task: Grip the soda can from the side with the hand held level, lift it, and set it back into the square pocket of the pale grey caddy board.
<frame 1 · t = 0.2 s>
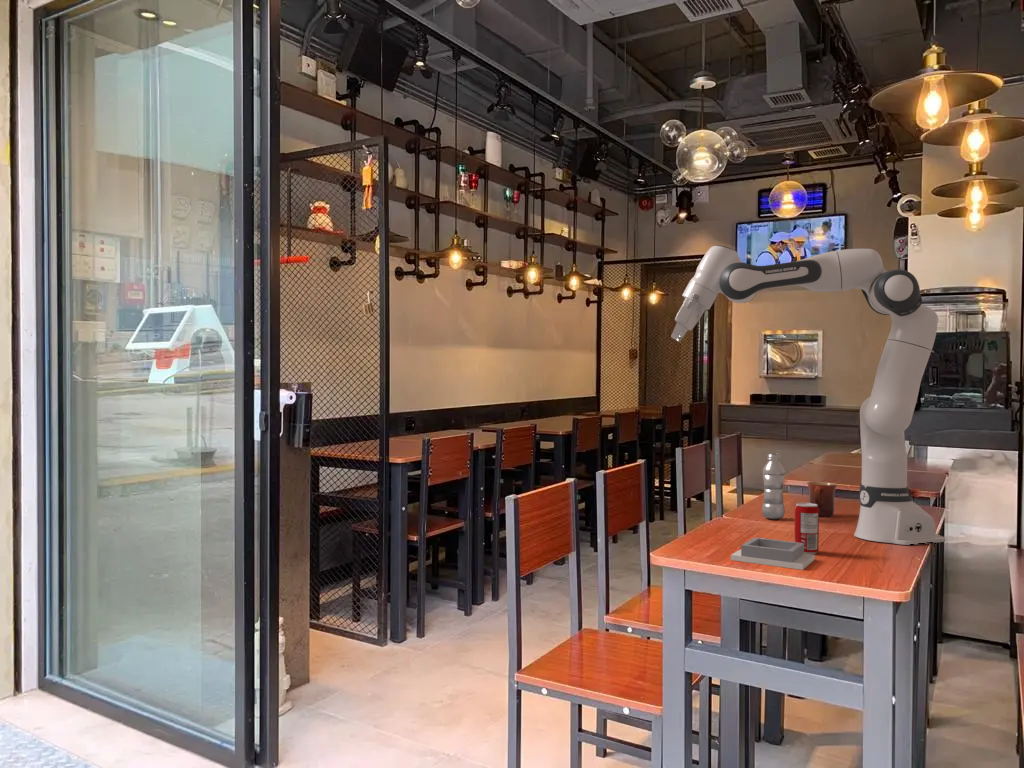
hand: (675, 339, 224), 54 cm above the table, tool tilted 30°, fingers open, 8 cm apart
plastic bottle: (773, 519, 236), on the table
mug: (820, 517, 242), on the table
soda can: (806, 552, 188), on the table
caddy: (772, 560, 179), on the table
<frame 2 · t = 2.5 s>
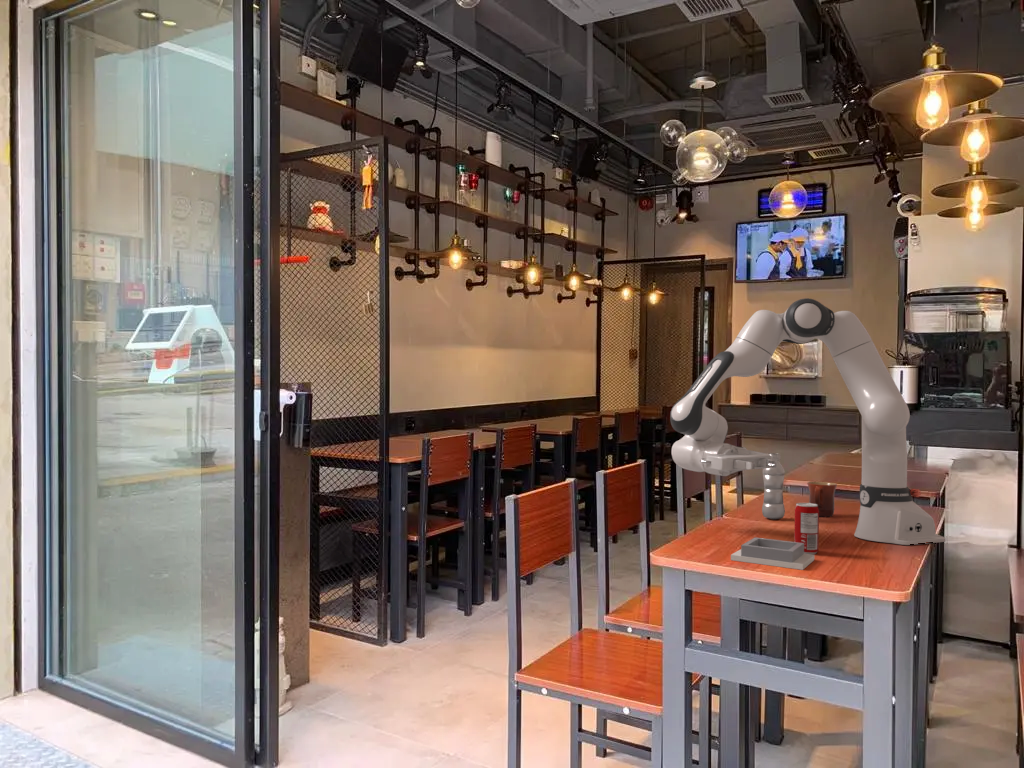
hand: (764, 465, 198), 20 cm above the table, tool horizontal, fingers open, 8 cm apart
nothing on the table moved.
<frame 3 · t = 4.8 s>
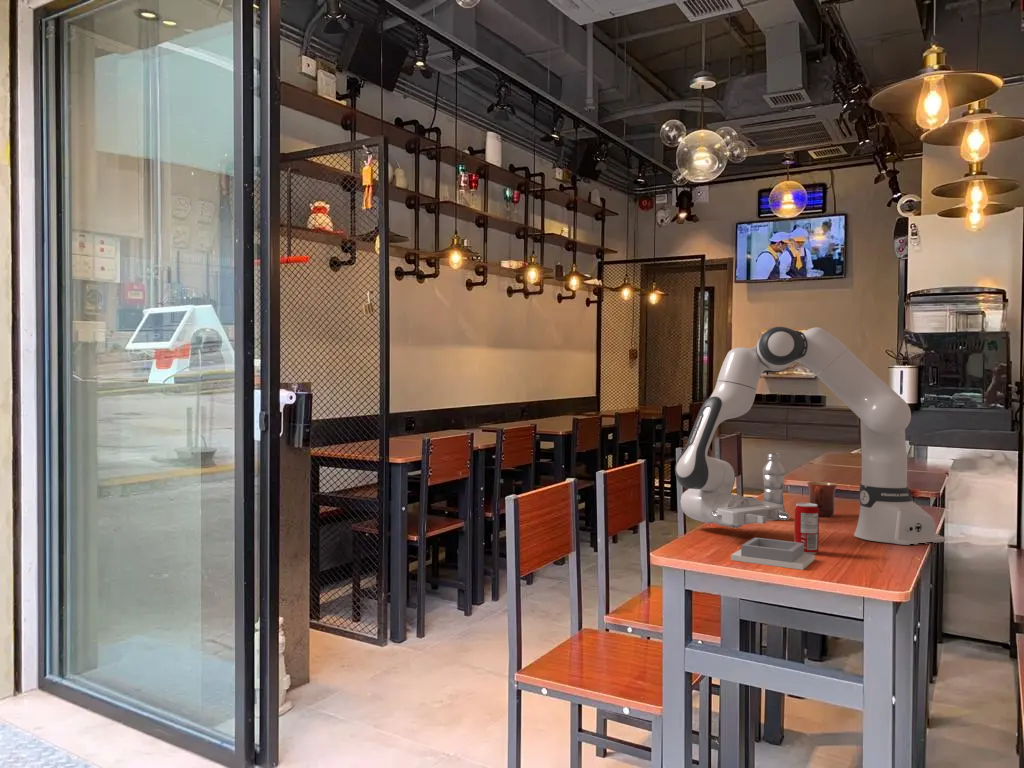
hand: (776, 518, 195), 7 cm above the table, tool horizontal, fingers open, 8 cm apart
nothing on the table moved.
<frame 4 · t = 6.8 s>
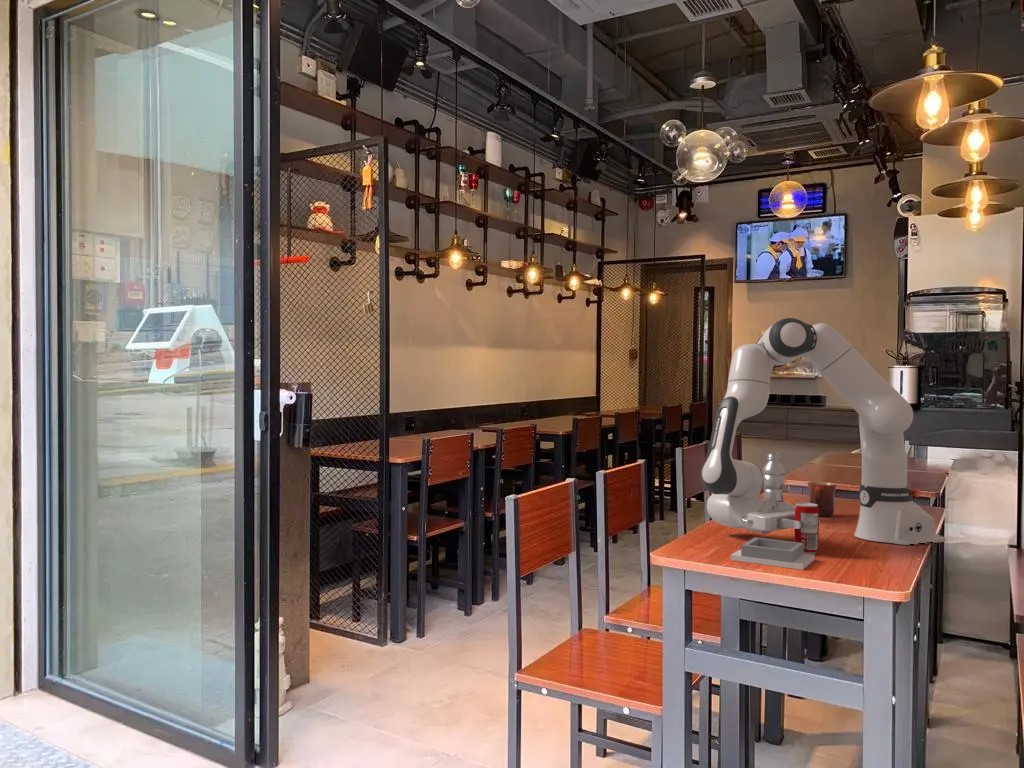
hand: (809, 523, 187), 7 cm above the table, tool horizontal, fingers closed on soda can, 5 cm apart
soda can: (806, 552, 188), on the table, touching gripper
everything else where it was.
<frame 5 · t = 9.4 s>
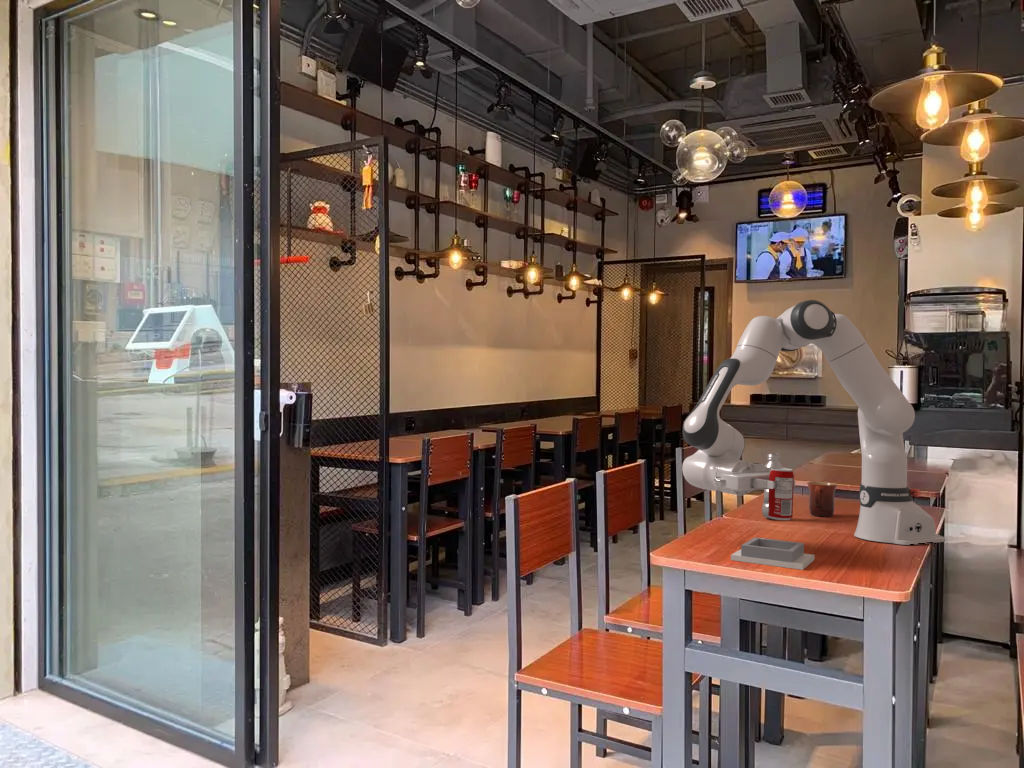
hand: (784, 484, 181), 17 cm above the table, tool horizontal, fingers closed on soda can, 5 cm apart
soda can: (780, 519, 182), point 9 cm above the table, touching gripper
everything else where it was.
when the fingers open (10 cm above the table, at t = 11.6 s): soda can stays where it is, resting on caddy.
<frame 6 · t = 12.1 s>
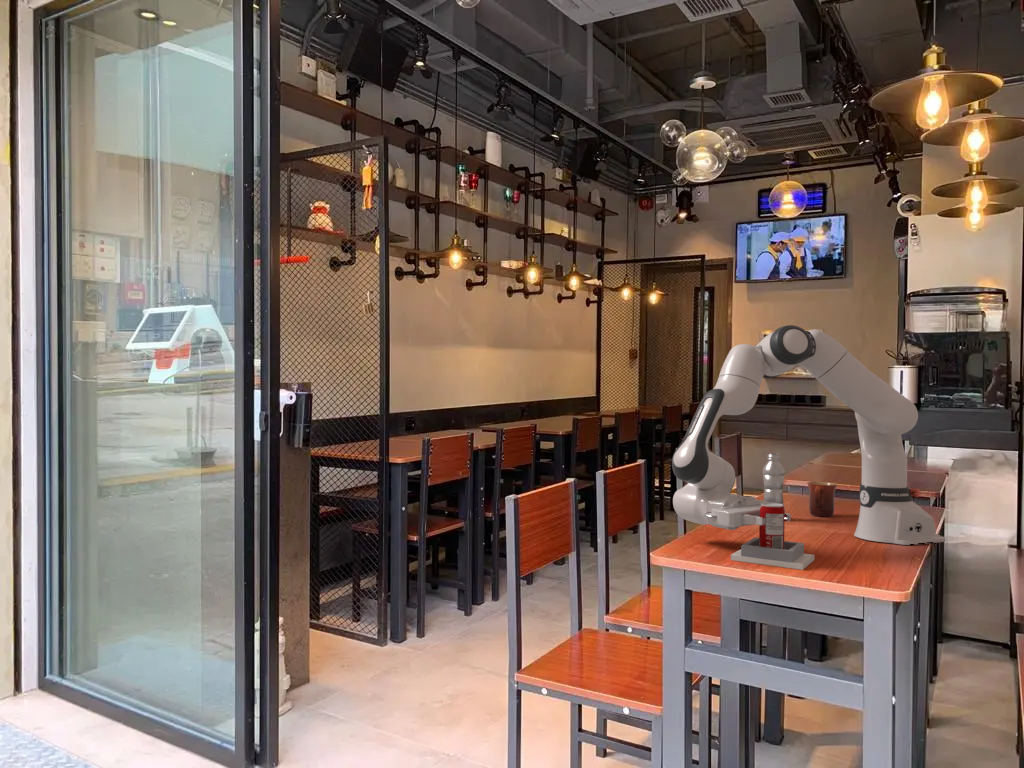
hand: (776, 519, 178), 10 cm above the table, tool horizontal, fingers open, 8 cm apart
soda can: (771, 555, 179), point 1 cm above the table, touching caddy
everything else where it was.
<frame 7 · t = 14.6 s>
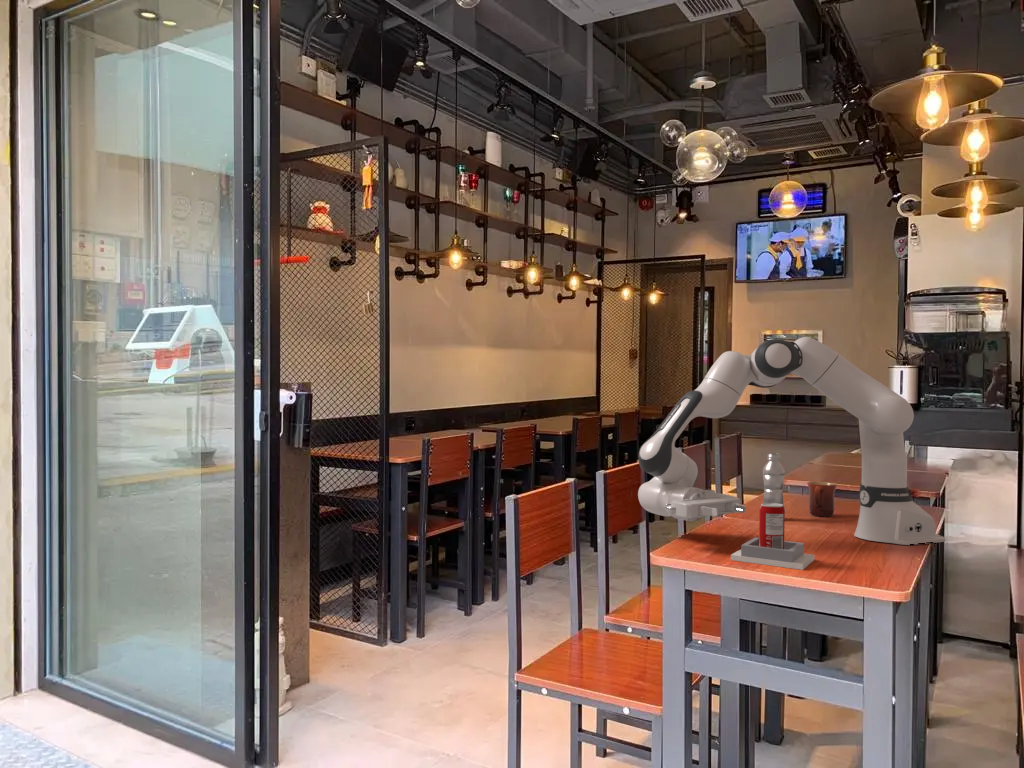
hand: (731, 511, 189), 10 cm above the table, tool horizontal, fingers open, 8 cm apart
nothing on the table moved.
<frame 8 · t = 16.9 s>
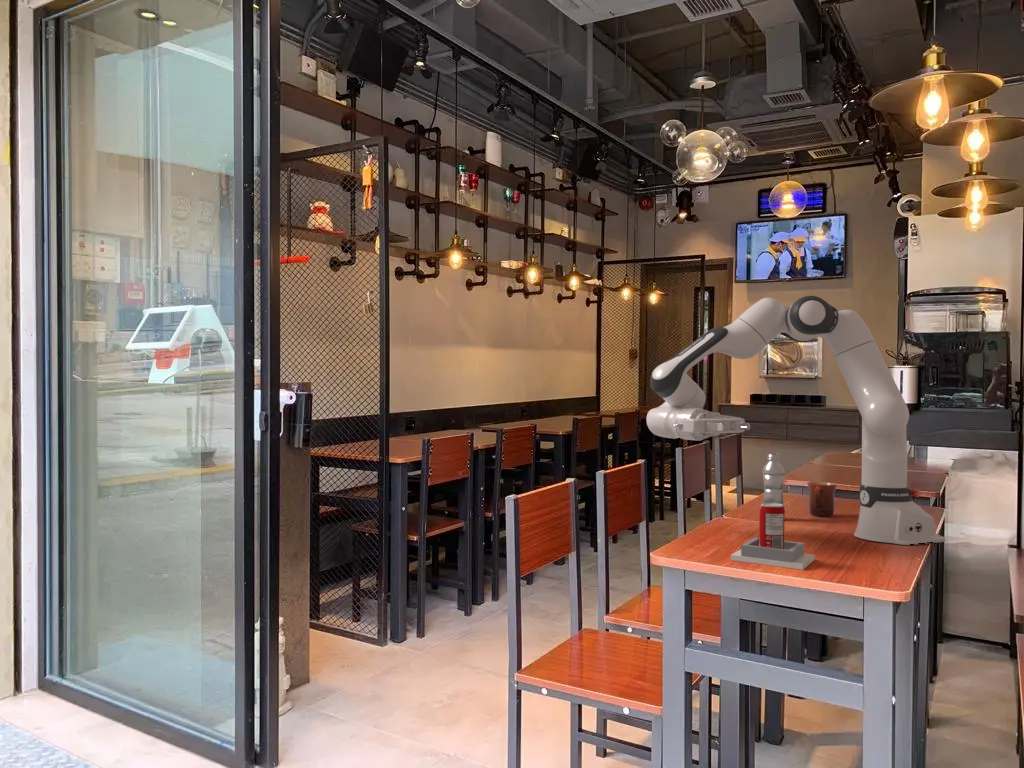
hand: (736, 426, 198), 30 cm above the table, tool horizontal, fingers open, 8 cm apart
nothing on the table moved.
at the end: soda can 0.3 cm off-centre on the caddy, point 1.0 cm above the caddy's base; soda can tilted 0°; the gripper is holding nothing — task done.
